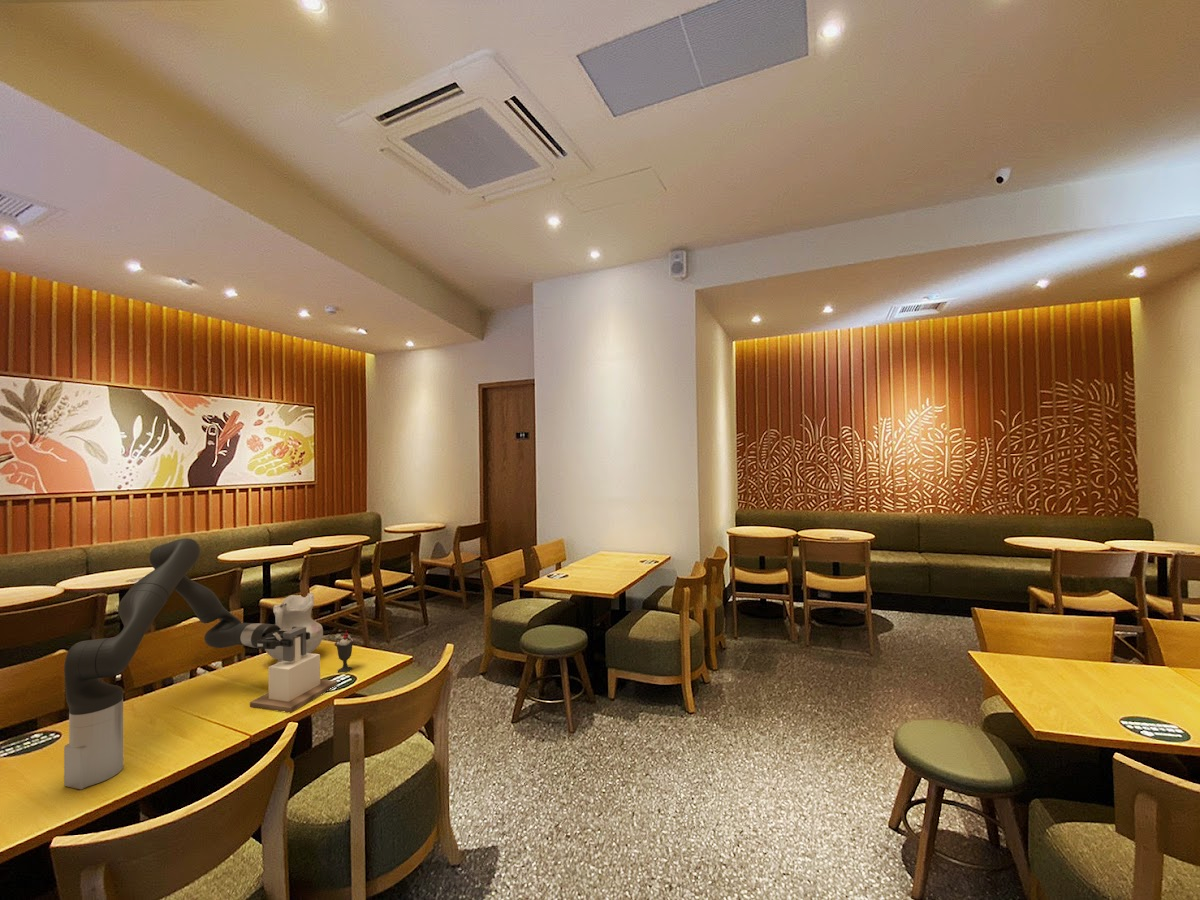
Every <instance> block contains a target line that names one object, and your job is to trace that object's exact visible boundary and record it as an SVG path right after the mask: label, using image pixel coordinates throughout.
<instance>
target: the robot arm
mask: <svg viewBox="0 0 1200 900" xmlns="http://www.w3.org/2000/svg"><path fill="white" fill-rule="evenodd" d="M200 554H201V549H200V545H199V543H198V541H196V540H194V539H192V538H187V537H185V538H180V539H176V540H173V541H170V542H168V543H167V542H166V543H163V544H161V545H157V546H156V547H154V548H152V549H151V551H150V553H149V556H148V557H149V562H150V564H151V566H152V567H153V569H154V570H152V571H151V572H149V573H147V574H146V575H145V576H143V577H142V578H140V579H139V580H138V581H136V582H135V583H134V584H133V585H132V586H131V587H130V588H129V589H128V590H127V592H126V593H125V595H123V597H122V598H121V599H120V602H119V604H118V608H117V609H118V615H119V618H120V621H121V623H122V624H123V628H122V629H121V631H120V632H119V633H118V634H117V635H116V636H113V637H106V638H97V639H88V640H86V639H85V640H82V641H78V642H76V643H74V644H73V645H71V647H70V648H69V649H68V651H67V653H66V656H65V660H64V665H63V675H64V684H65V685H64V686H65V700H66V703H67V705H68V710H69V711H68V725H69V726H68V743H67V744H65V745H64V746H63V750H64V751H63V760H64V761H63V765H64V766H63V779H64V781H63V783H64V784H63V786H65V787H69V788H72V789H76V790H83V789H85V788H88V787H90V786H94V785H96V784H99V783H102V782H105V781H107V780H109V779H111V778H113V777H115V776H116V775H118V774H119V773H120V772H121V771H122V770H123V768H124V689H123V688H122V686H119V685H117V684H116V685H115V684H110V683H107V682H105V681H102V680H101V679H102V678H109V677H114V676H117V675H119V674H121V673H122V672H124V670H126V668H127V667H128V666H129V664H130V662H131V661H132V659H133V657H134V655H135V653H136V651H137V649H138V648H139V646H140V644H141V642H142V640H143V639H144V637H145V634H146V633H147V631H148V630H149V628H150V626H151V625H152V623H153V621H154V620H155V619H156V617H157V615H159V613H160V611H161V610H162V609H163V608H164V605H166V603H167V602H168V599H170V596H171V595H172V593H173V592H174V590H175V591H176V592H177V593H178V594H179V595H180V597H182V598H183V599H184V601H186V603H187V604H188V605H189V607H190V608H191V609H192V611H193V613H194V614H195V616H196V617H197V619H198V620H199V622H201V623H202V624H209V623H213V622H215V621H216V620H219V622H217V624H214V626H212V627H211V628H210V629H208V630H207V632H206V633H205V634H204V637H203V638H204V643H205V644H206V645H208V646H209V647H211V648H214V649H222V648H223V649H224V648H229V647H234V646H237V645H239V646H246V647H250V648H257V649H258V650H265V649H275V648H276V647H282V646H284V647H292V646H293V640H292V639H283V633H284V632H286V631H289V630H285V629H280V627H279V626H277V625H275V624H271V623H259V622H258V623H253V622H251V623H250V622H242V621H241V620H240V619H239V618H238V617H237V616H235V615H234V614H232V613H231V612H230V611H228V609H226V608H225V607H224V606H223V604H222V602H221V601H220V599H219V597H218V596H217V595H216V593H215V592H214V591H213V590H211V588H209V587H207V586H204V585H203V584H201V583H198V582H196V581H194V580H192V579H191V578H189V577H188V576H187V574H188V572H189V571H190V570H191V569H192V568H193V567H194V565H195V564H196V563H197V562H198V560H199V557H200ZM294 628H296V627H292V629H294ZM308 639H310V633H309V632H306V640H308Z"/></svg>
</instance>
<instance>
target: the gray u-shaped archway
mask: <svg viewBox="0 0 1200 900" xmlns="http://www.w3.org/2000/svg"><path fill="white" fill-rule="evenodd" d="M295 636H299V637H300V646H301V656H304V655H306V627H300V626H299V627H296V628H294V629H291V630H289V631H286V632H284V633H283V639H292V640H293V646H292V647H284V646H283V661H288V662H291V661H293V660H294V637H295Z"/></svg>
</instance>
